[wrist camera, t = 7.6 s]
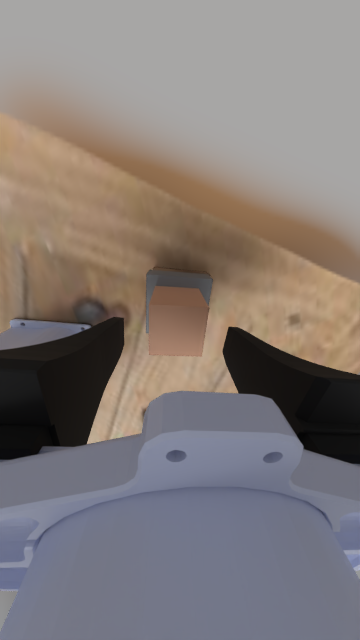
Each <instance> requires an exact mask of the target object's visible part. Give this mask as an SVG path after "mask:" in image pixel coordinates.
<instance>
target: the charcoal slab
mask: <svg viewBox="0 0 360 640" xmlns="http://www.w3.org/2000/svg"><path fill="white" fill-rule="evenodd" d="M212 282H213V279H212V278H211V277H210V276H209V275H208V274H197V273H184V272H172V271H160V270H149V271H148V273H147V280H146V333H149V302H150V300H151V297H152V294H153V291H154V288H155V286H167V287H184V288H199V290H200V292H201V294H202V295H203V297H204V299H205V301H206V303H207V305H208V306H209V300H210V294H211V288H212Z"/></svg>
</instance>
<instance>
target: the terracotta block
mask: <svg viewBox="0 0 360 640" xmlns="http://www.w3.org/2000/svg"><path fill="white" fill-rule="evenodd" d="M208 312H209V306H208V305H207V303H206V301H205V299H204V297H203V295H202V294H201V292H200V290H199V288H184V287H167V286H155V288H154V291H153V294H152V297H151V300H150V302H149V355H170V356H201V357H202V352H203V345H204V338H205V332H206V325H207V319H208Z"/></svg>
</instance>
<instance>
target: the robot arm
mask: <svg viewBox="0 0 360 640" xmlns="http://www.w3.org/2000/svg"><path fill="white" fill-rule="evenodd" d="M23 323H24V324H25V325H24V324H23ZM10 325H11V328H10V329H8V330H6V331H4V332H3V333H1V334H0V591H18V592H17V595H16V597H15V599H14V602H13V604H12V606H11V608H10V611H9V613H8V615H7V618H6V620H5V622H4V625H3V627H2V629H1V632H0V640H360V579H359V578H358V576H357V574H356V572H355V571H357V570H360V375H357V374H352V373H348V372H344V371H340V370H336V369H332V368H329V367H325V366H322V365H318V364H315V363H312V362H309V361H306V360H304V359H301V358H298V357H295V356H293V355H290V354H288V353H286V352H284V351H281V350H279V349H277V348H275V347H273V346H271V345H269V344H267V343H265V342H264V341H262V340H260V339H258V338H257V337H255V336H253V335H251V334H250V333H248V332H246V331H244V330H242V329H240V328H238V327H229V328H228V332H227V336H226V340H225V343H224V347H223V355H224V359H225V363H226V365H227V367H228V370H229V372H230V374H231V377H232V379H233V381H234V383H235V386H236V388H237V390H238V393H239V394H236V393H215V392H195V391H177V392H170V393H164V394H162V395H161V396H159V397H158V398H156V399H155V400H153V401H151V402H150V403H149V406H148V408H147V410H146V412H145V415H144V422H143V428H142V433H141V434H136V435H131V436H126V437H121V438H116V439H111V440H106V441H101V442H96V443H91V444H87V441H88V438H89V435H90V431H91V428H92V425H93V422H94V419H95V416H96V413H97V410H98V407H99V404H100V401H101V398H102V395H103V393H104V390H105V388H106V385H107V383H108V381H109V379H110V377H111V375H112V373H113V371H114V369H115V367H116V365H117V362H118V360H119V358H120V356H121V353H122V350H123V347H124V318H119V317H113V318H110V319H108V320H106V321H104V322H102V323H99V324H97V325H95V326H93V327H91V326H90V325H86V324H74V323H61V322H49V321H36V320H23V319H13V320H11V321H10ZM82 327H84V328H85V329H82Z"/></svg>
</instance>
